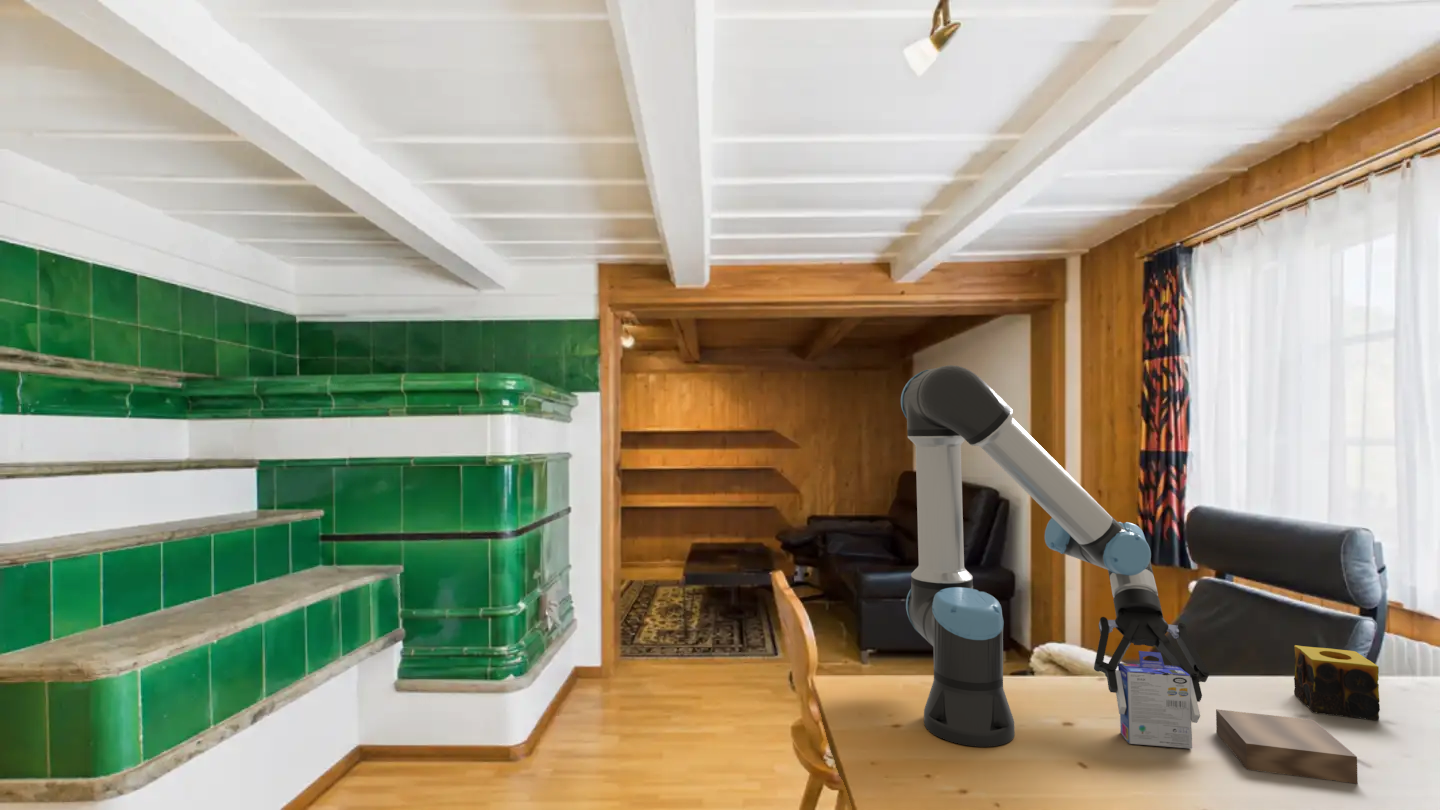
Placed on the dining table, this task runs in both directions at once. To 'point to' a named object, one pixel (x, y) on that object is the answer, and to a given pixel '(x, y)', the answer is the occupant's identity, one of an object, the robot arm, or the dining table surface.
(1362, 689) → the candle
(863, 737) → the dining table surface
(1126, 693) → the ink cartridge box
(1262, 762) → the walnut stand
